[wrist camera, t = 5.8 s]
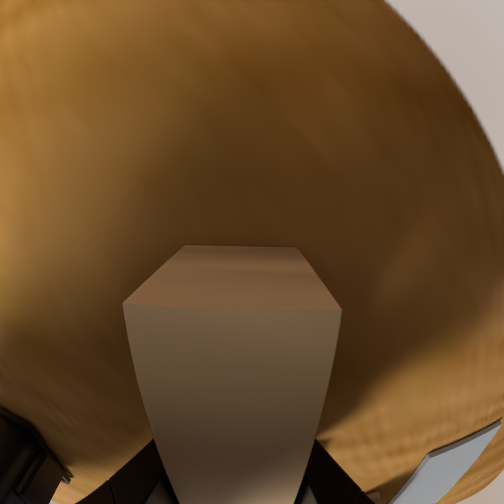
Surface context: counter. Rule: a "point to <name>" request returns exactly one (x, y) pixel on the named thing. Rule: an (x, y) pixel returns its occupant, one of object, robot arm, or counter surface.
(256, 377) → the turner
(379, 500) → the corner fence
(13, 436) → the robot arm
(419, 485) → the mat
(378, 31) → the counter surface
